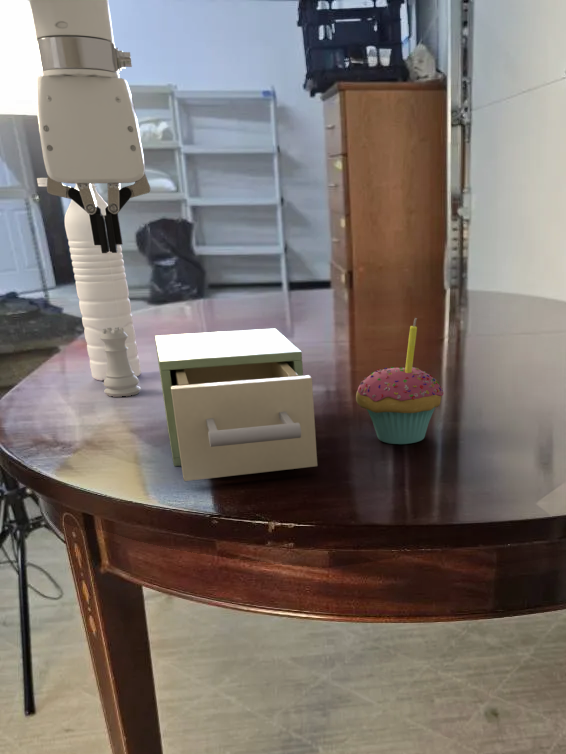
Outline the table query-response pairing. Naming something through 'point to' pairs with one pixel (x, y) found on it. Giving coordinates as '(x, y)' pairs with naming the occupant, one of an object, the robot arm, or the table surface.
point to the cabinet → (217, 359)
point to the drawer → (243, 420)
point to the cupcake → (400, 399)
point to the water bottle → (99, 287)
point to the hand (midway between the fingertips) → (109, 251)
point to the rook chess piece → (118, 365)
